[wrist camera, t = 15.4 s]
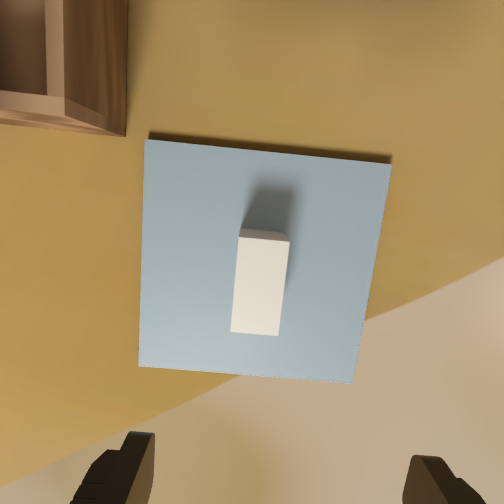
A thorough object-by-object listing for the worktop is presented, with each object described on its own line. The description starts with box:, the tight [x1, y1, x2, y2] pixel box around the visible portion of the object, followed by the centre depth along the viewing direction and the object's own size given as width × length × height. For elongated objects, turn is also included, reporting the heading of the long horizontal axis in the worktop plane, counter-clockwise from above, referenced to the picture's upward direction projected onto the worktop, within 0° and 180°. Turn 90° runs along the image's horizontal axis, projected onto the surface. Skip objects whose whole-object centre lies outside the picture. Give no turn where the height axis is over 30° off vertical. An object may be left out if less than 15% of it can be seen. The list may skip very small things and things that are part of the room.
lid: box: [139, 139, 392, 383], centre depth 30 cm, size 22×22×7 cm
